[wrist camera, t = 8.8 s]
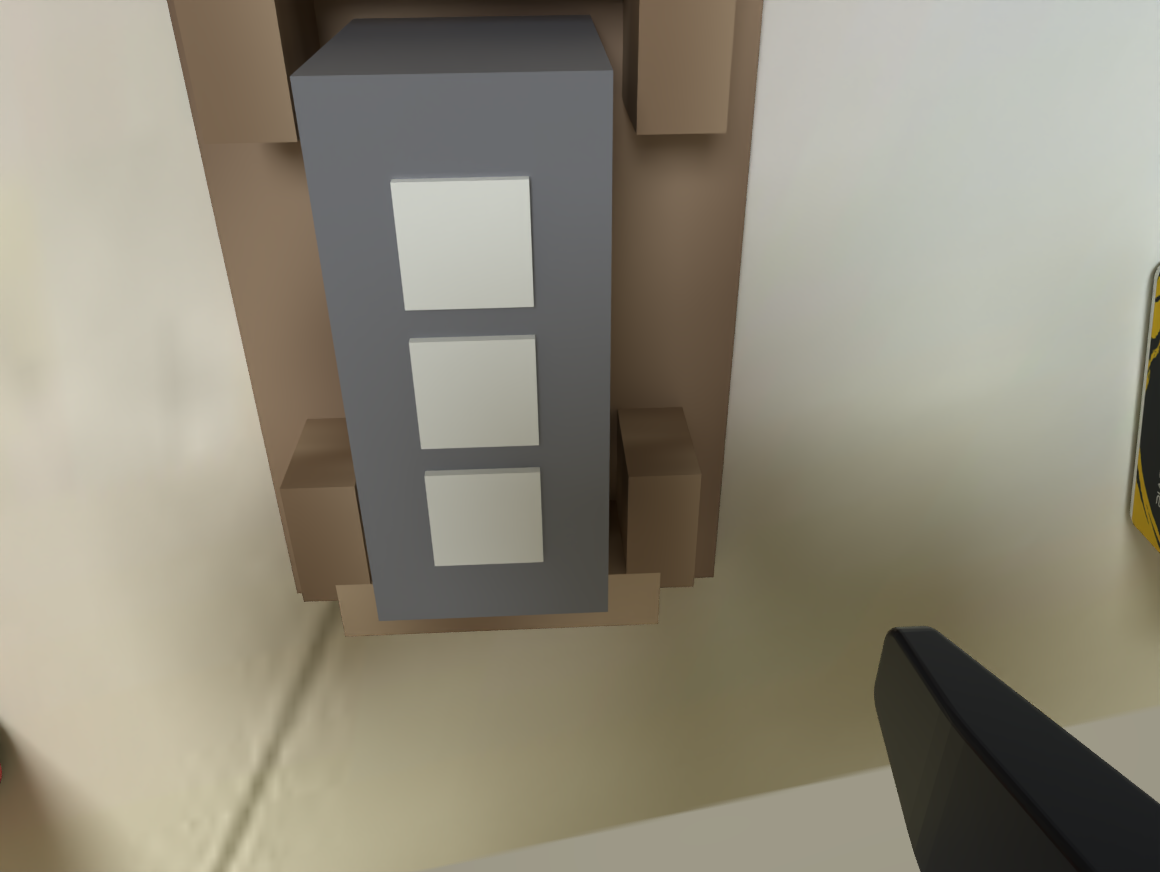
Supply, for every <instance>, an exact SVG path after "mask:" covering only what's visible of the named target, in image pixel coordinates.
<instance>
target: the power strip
mask: <svg viewBox="0 0 1160 872" xmlns="http://www.w3.org/2000/svg"><path fill="white" fill-rule="evenodd" d="M290 81H291V87H292V93H293V99H294V105H295V111H296V118H297V124H298V130H299V136H300V142H301V148H302V154H303V160H304V166H305V173H306V179H307V185H308V191H309V197H310V203H311V209H312V215H313V221H314V228H315V234H316V240H317V246H318V252H319V258H320V264H321V270H322V277H323V283H324V289H325V295H326V301H327V307H328V313H329V319H330V325H331V332H332V338H333V344H334V350H335V356H336V362H337V368H338V374H339V380H340V387H341V393H342V399H343V405H344V411H345V417H346V423H347V429H348V435H349V442H350V448H351V454H352V460H353V466H354V472H355V478H356V484H357V491H358V497H359V503H360V509H361V515H362V521H363V527H364V533H365V539H366V546H367V552H368V558H369V564H370V570H371V576H372V582H373V588H374V594H375V601H376V607H377V613H378V619H379V621H395V620H420V619H445V618H470V617H494V616H519V615H544V614H569V613H594V612H608V565H609V461H610V356H611V252H612V147H613V69H612V66H611V64H610V61H609V59H608V57H607V54H606V52H605V50H604V47H603V45H602V42H601V40H600V38H599V35H598V33H597V30H596V28H595V26H594V23H593V21H592V18H591V16H590V15H544V16H482V17H421V18H359V19H353V20H352V21H350V22H349V23H348V24H347V25H346V26H345V27H344V28H343V29H342V30H341V31H339V32H338V33H337V34H336V35H335V36H334V37H333V38H332V39H331V40H329V41H328V42H327V43H326V44H325V45H324V46H323V47H322V48H321V49H319V50H318V51H317V52H316V53H315V54H314V55H313V56H312V57H311V58H310V59H308V60H307V61H306V62H305V63H304V64H303V65H302V66H301V67H300V68H298V69H297V70H296V71H295V72H294V73H293V74H292V75H291V76H290Z"/></svg>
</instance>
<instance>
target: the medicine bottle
mask: <svg viewBox="0 0 1160 872" xmlns="http://www.w3.org/2000/svg"><path fill="white" fill-rule="evenodd" d="M1130 517H1131V520H1132V522H1133V524H1134V526H1135V527H1136V528H1137V529H1138V530H1139V531H1140V532H1141V533H1142V534H1143V535H1144V536H1145V537H1146V539H1147V540H1148V541H1149V542H1150V543H1151V544H1152V545H1153V546H1154V547H1155V548H1156V549H1157V551H1158V552H1159V553H1160V266H1159V267H1158V268H1157V270H1156V273H1155V276H1154V285H1153V295H1152V304H1151V314H1150V324H1149V333H1148V343H1147V352H1146V362H1145V372H1144V381H1143V391H1142V400H1141V410H1140V420H1139V429H1138V439H1137V449H1136V458H1135V468H1134V477H1133V487H1132V497H1131V506H1130Z"/></svg>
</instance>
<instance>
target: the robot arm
mask: <svg viewBox="0 0 1160 872" xmlns="http://www.w3.org/2000/svg"><path fill="white" fill-rule="evenodd" d="M874 699H875V707H876V711H877V715H878V719H879V723H880V727H881V730H882V734H883V738H884V742H885V746H886V750H887V753H888V757H889V761H890V765H891V769H892V772H893V776H894V780H895V784H896V788H897V792H898V795H899V799H900V803H901V807H902V811H903V815H904V819H905V823H906V826H907V830H908V834H909V837H910V841H911V844H912V848H913V851H914V854H915V857H916V860H917V863H918V866H919V869H920V871H921V872H1160V804H1159V803H1158V802H1157V801H1155V800H1154V799H1153V798H1152V797H1150V796H1149V795H1148V794H1146V793H1145V792H1144V791H1143V790H1141V789H1140V788H1139V787H1137V786H1136V785H1135V784H1134V783H1132V782H1131V781H1129V780H1128V779H1127V778H1126V777H1125V776H1123V775H1122V774H1121V773H1119V772H1118V771H1117V770H1116V769H1114V768H1113V767H1112V766H1110V765H1109V764H1108V763H1107V762H1105V761H1104V760H1103V759H1101V758H1100V757H1099V756H1098V755H1096V754H1095V753H1094V752H1092V751H1091V750H1090V749H1089V748H1087V747H1086V746H1085V745H1083V744H1082V743H1081V742H1079V741H1078V740H1077V739H1076V738H1074V737H1073V736H1072V735H1071V734H1069V733H1068V732H1067V731H1066V730H1064V729H1063V728H1062V727H1060V726H1059V725H1058V724H1057V723H1055V722H1054V721H1053V720H1051V719H1050V718H1049V717H1048V716H1046V715H1045V714H1044V713H1042V712H1041V711H1040V710H1039V709H1037V708H1036V707H1035V706H1033V705H1032V704H1031V703H1030V702H1028V701H1027V700H1026V699H1024V698H1023V697H1022V696H1021V695H1019V694H1018V693H1017V692H1015V691H1014V690H1013V689H1012V688H1010V687H1009V686H1008V685H1006V684H1005V683H1004V682H1003V681H1001V680H1000V679H999V678H997V677H996V676H995V675H994V674H992V673H991V672H990V671H988V670H987V669H986V668H985V667H983V666H982V665H981V664H979V663H978V662H977V661H976V660H974V659H973V658H972V657H971V656H969V655H968V654H967V653H965V652H964V651H963V650H962V649H960V648H959V647H958V646H956V645H955V644H954V643H953V642H951V641H950V640H949V639H947V638H946V637H945V636H944V635H942V634H941V633H940V632H938V631H937V630H935V629H933V628H931V627H928V626H912V627H895V628H892V629H891V630H889V632H888V633H887V635H886V637H885V640H884V645H883V649H882V654H881V658H880V663H879V668H878V672H877V677H876V681H875V687H874Z"/></svg>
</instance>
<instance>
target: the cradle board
mask: <svg viewBox="0 0 1160 872" xmlns="http://www.w3.org/2000/svg"><path fill="white" fill-rule="evenodd" d="M167 3H168V8H169V12H170V17H171V21H172V26H173V30H174V35H175V39H176V44H177V48H178V53H179V58H180V62H181V67H182V71H183V76H184V80H185V85H186V89H187V94H188V98H189V103H190V107H191V112H192V117H193V121H194V126H195V130H196V135H197V139H198V144H199V148H200V153H201V157H202V162H203V167H204V171H205V176H206V180H207V185H208V189H209V194H210V198H211V203H212V207H213V212H214V216H215V221H216V226H217V230H218V235H219V239H220V244H221V248H222V253H223V257H224V262H225V266H226V271H227V276H228V280H229V285H230V289H231V294H232V298H233V303H234V307H235V312H236V316H237V321H238V325H239V330H240V335H241V339H242V344H243V348H244V353H245V357H246V362H247V366H248V371H249V375H250V380H251V384H252V389H253V394H254V398H255V403H256V407H257V412H258V416H259V421H260V425H261V430H262V434H263V439H264V444H265V448H266V453H267V457H268V462H269V466H270V471H271V475H272V480H273V484H274V489H275V493H276V498H277V503H278V507H279V512H280V516H281V521H282V525H283V530H284V534H285V539H286V543H287V548H288V553H289V557H290V562H291V566H292V571H293V575H294V580H295V584H296V589H297V593H302V595H303V600H304V602H309V601H335V600H338V601H339V606H340V611H341V616H342V622H343V627H344V632H345V636H368V635H393V634H418V633H442V632H467V631H491V630H516V629H540V628H565V627H590V626H614V625H639V624H658V615H659V594H660V588H666V587H691V586H693V585H694V578H703V577H713V576H714V565H715V553H716V541H717V530H718V518H719V507H720V495H721V484H722V472H723V461H724V449H725V438H726V426H727V414H728V403H729V391H730V380H731V368H732V357H733V345H734V334H735V322H736V311H737V299H738V287H739V276H740V264H741V253H742V241H743V230H744V218H745V207H746V195H747V184H748V172H749V160H750V149H751V137H752V126H753V114H754V103H755V91H756V80H757V68H758V57H759V45H760V33H761V22H762V10H763V0H167ZM544 15H590V16H591V18H592V21H593V23H594V26H595V28H596V30H597V33H598V35H599V38H600V40H601V42H602V45H603V47H604V50H605V52H606V54H607V57H608V59H609V61H610V64H611V66H612V69H613V147H612V252H611V356H610V461H609V565H608V612H594V613H569V614H544V615H519V616H494V617H470V618H445V619H420V620H395V621H379V619H378V613H377V607H376V601H375V594H374V588H373V582H372V576H371V570H370V564H369V558H368V552H367V546H366V539H365V533H364V527H363V521H362V515H361V509H360V503H359V497H358V491H357V484H356V478H355V472H354V466H353V460H352V454H351V448H350V442H349V435H348V429H347V423H346V417H345V411H344V405H343V399H342V393H341V387H340V380H339V374H338V368H337V362H336V356H335V350H334V344H333V338H332V332H331V325H330V319H329V313H328V307H327V301H326V295H325V289H324V283H323V277H322V270H321V264H320V258H319V252H318V246H317V240H316V234H315V228H314V221H313V215H312V209H311V203H310V197H309V191H308V185H307V179H306V173H305V166H304V160H303V154H302V148H301V142H300V136H299V130H298V124H297V118H296V111H295V105H294V99H293V93H292V87H291V81H290V76H291V75H292V74H293V73H294V72H295V71H296V70H297V69H298V68H300V67H301V66H302V65H303V64H304V63H305V62H306V61H307V60H308V59H310V58H311V57H312V56H313V55H314V54H315V53H316V52H317V51H318V50H319V49H321V48H322V47H323V46H324V45H325V44H326V43H327V42H328V41H329V40H331V39H332V38H333V37H334V36H335V35H336V34H337V33H338V32H339V31H341V30H342V29H343V28H344V27H345V26H346V25H347V24H348V23H349V22H350V21H352V20H353V19H359V18H421V17H482V16H544Z"/></svg>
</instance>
